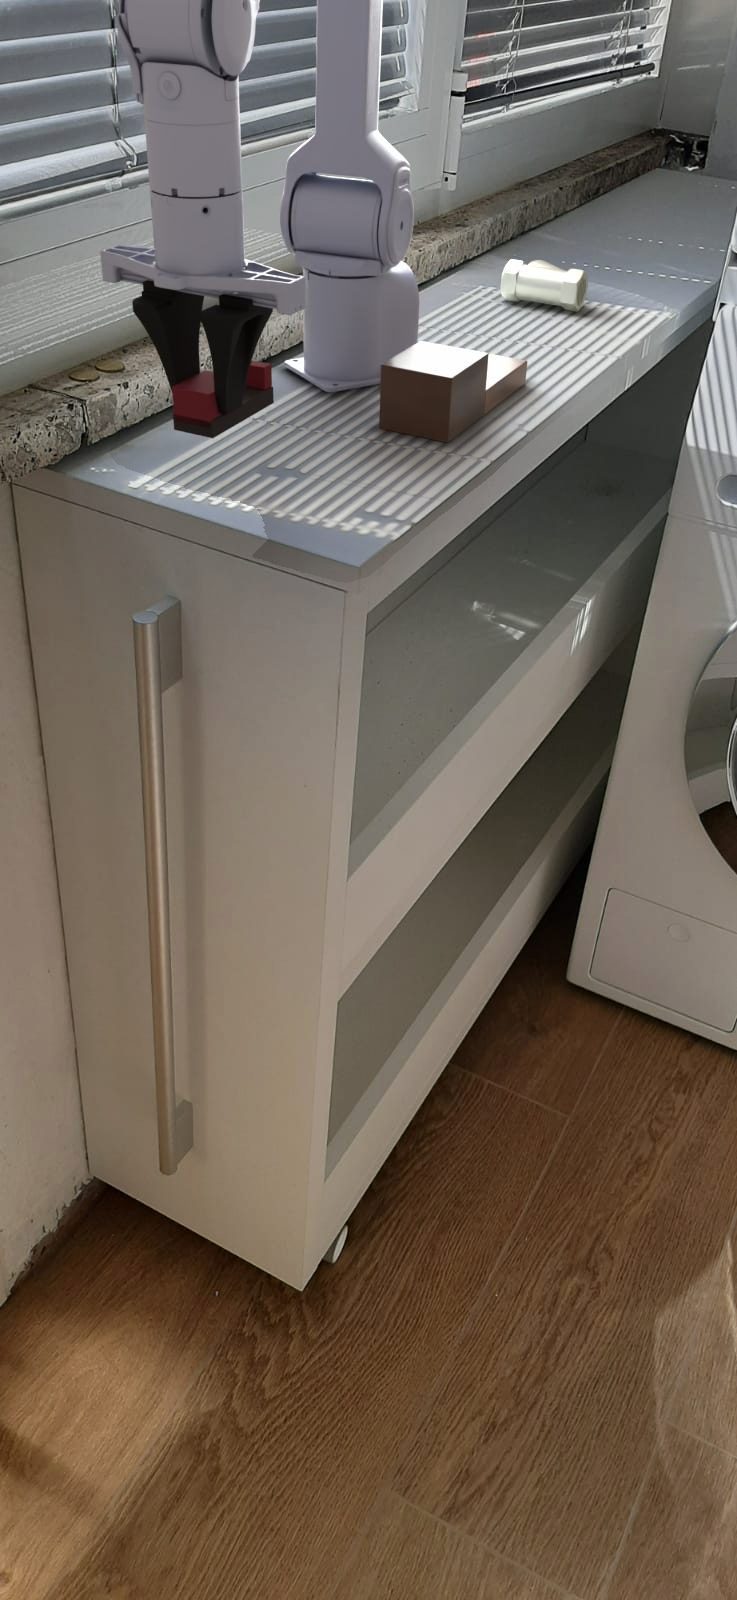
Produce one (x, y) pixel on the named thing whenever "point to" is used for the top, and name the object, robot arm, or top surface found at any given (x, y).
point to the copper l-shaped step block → (444, 389)
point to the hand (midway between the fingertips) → (208, 404)
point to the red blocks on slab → (200, 407)
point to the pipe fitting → (544, 284)
